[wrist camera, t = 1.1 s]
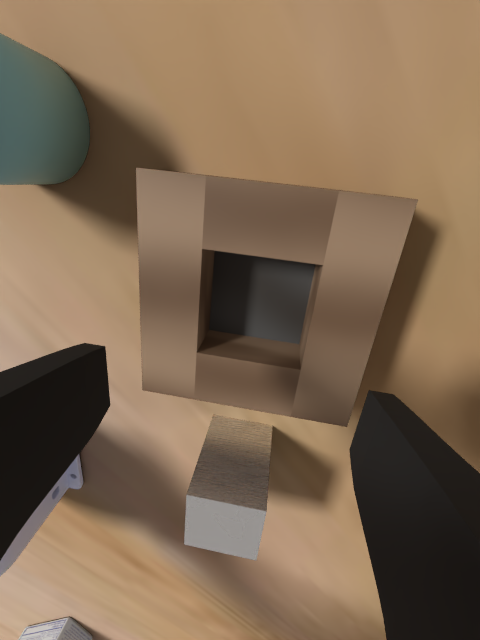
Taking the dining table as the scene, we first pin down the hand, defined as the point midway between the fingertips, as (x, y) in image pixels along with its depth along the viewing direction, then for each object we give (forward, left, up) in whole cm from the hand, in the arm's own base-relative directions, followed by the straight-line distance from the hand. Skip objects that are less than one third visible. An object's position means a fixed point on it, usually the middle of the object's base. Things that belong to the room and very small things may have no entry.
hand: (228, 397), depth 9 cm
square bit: (-11, 0, -10) cm, 15 cm away
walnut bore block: (0, 0, -9) cm, 9 cm away
